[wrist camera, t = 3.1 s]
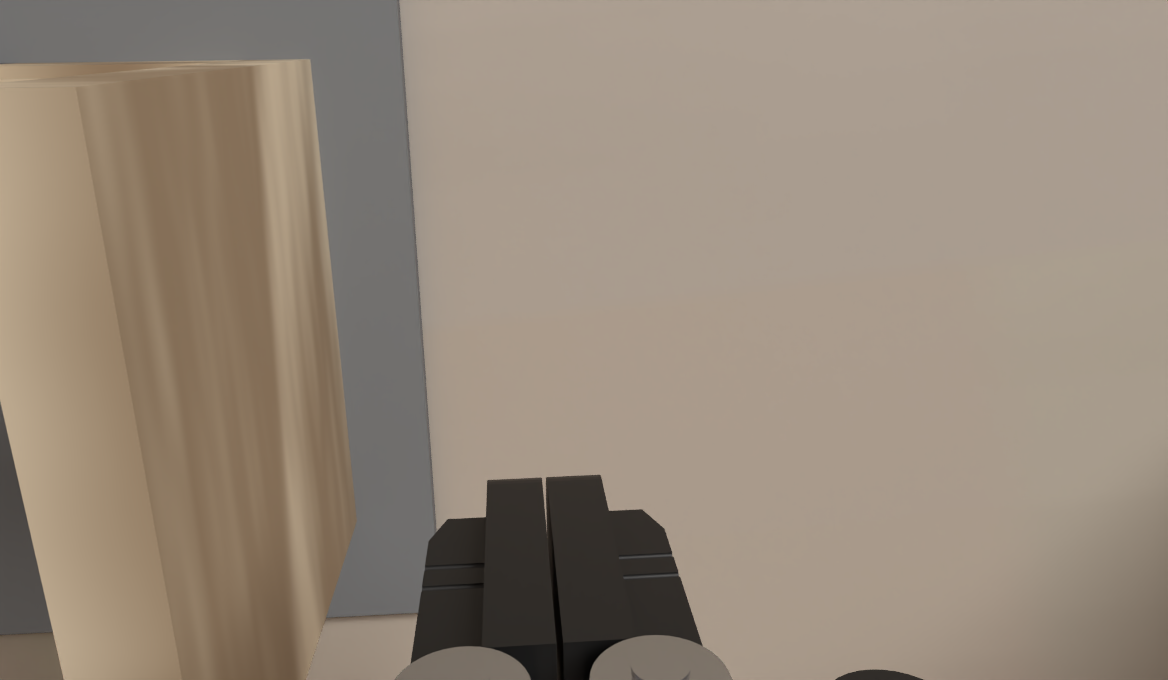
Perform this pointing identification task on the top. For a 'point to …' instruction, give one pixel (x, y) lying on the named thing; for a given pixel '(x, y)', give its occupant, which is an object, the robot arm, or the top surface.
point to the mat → (356, 242)
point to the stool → (173, 364)
